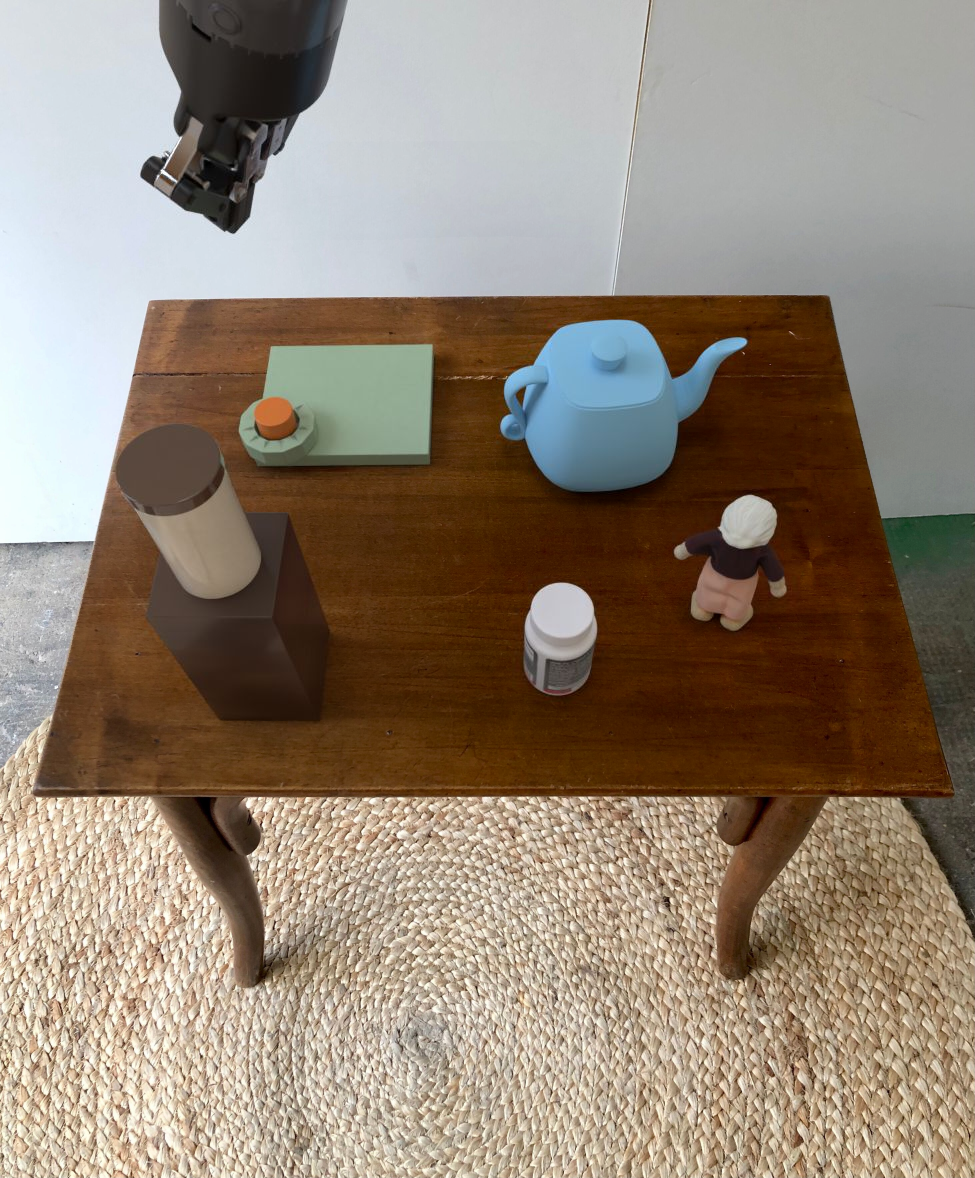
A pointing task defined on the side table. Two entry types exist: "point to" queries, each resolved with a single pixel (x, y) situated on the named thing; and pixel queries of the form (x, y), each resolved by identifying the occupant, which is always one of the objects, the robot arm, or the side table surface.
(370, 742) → the side table surface
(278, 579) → the stand
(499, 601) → the side table surface
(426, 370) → the scale
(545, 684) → the pill bottle
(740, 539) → the grandmother figurine
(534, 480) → the side table surface
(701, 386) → the teapot
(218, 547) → the spice jar
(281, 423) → the tare button
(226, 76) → the robot arm
